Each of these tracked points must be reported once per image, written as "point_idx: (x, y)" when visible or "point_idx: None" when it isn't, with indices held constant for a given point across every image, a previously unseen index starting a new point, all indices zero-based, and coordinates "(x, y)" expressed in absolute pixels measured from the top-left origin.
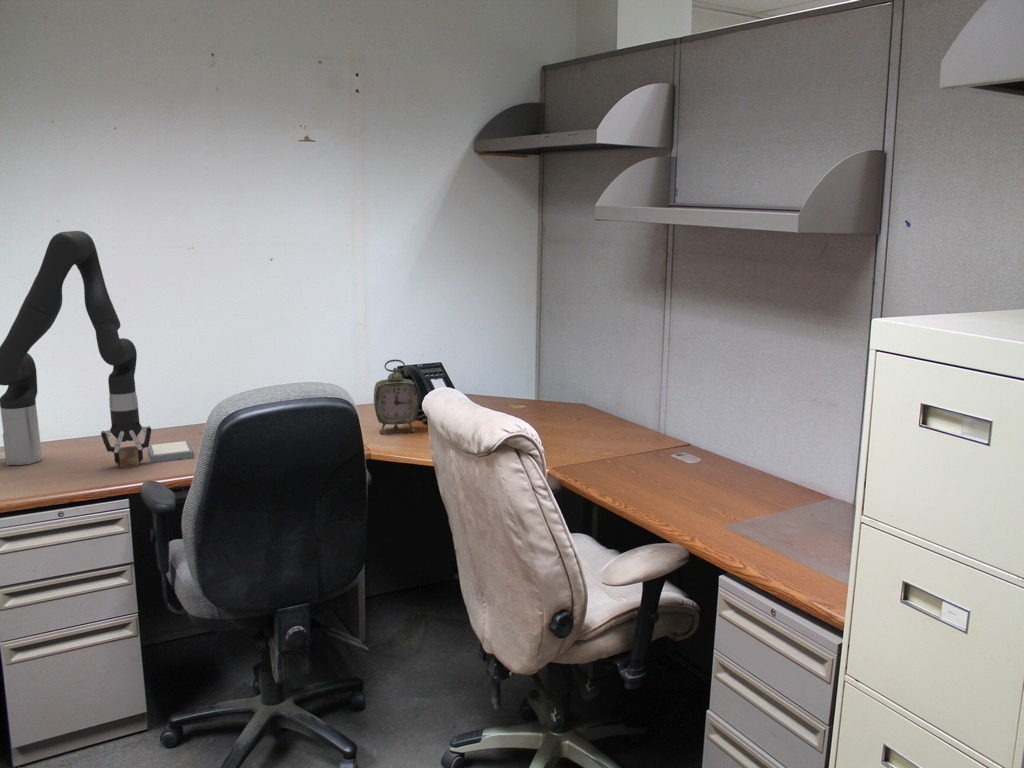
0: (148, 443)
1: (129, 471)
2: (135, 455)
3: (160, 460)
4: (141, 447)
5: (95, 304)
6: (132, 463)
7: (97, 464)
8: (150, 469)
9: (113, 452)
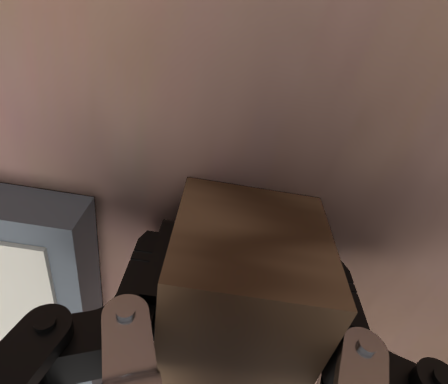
0: (7, 340)
1: (295, 64)
2: (195, 241)
3: (21, 193)
4: (109, 317)
5: None
6: (232, 199)
7: (391, 334)
8: (106, 7)
9: (378, 343)
